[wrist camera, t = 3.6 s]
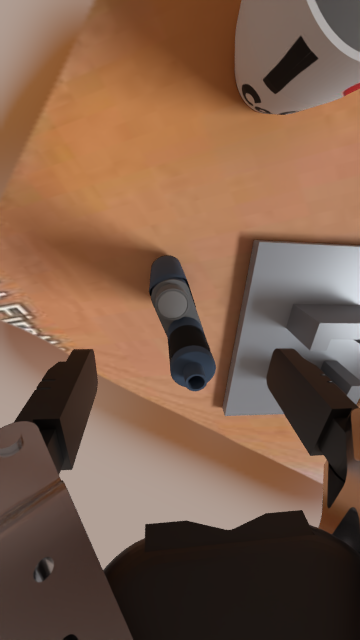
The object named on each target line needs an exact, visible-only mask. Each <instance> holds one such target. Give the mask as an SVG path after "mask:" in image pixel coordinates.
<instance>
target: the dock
mask: <svg viewBox="0 0 360 640" xmlns="http://www.w3.org/2000/svg"><path fill="white" fill-rule="evenodd" d="M276 348H293V349H295V350H296V351H297V352H298V353H299V354H300V355H301V356H302V357H303V358H304V359H306V360H307V361H309V362H311V363H312V364H314V365H316V366H317V367H318V368H319V369H320V370H321V371H322V372H323V373H324V374H325V376H327V377H328V378H329V379H330V380H331V381H332V383H334V384H335V385H336V386H337V387H338V388H339V389H340V390H341V391H342V392H343V393H345V394H346V395H347V396H348V397H349V398H350V399H351V400H352V401H353V402H354V403H355V404H357V402H358V400H359V399H360V245H344V244H324V243H304V242H285V241H265V240H254V243H253V248H252V253H251V259H250V264H249V269H248V275H247V280H246V285H245V291H244V296H243V301H242V306H241V312H240V317H239V322H238V328H237V333H236V338H235V344H234V349H233V354H232V360H231V365H230V370H229V375H228V381H227V386H226V391H225V397H224V402H223V407H222V409H223V412H224V415H225V416H236V415H267V414H284V413H283V411H282V410H281V408H280V406H279V405H278V403H277V402H276V400H275V398H274V397H273V395H272V394H271V392H270V390H269V389H268V386H267V381H266V377H267V372H268V369H269V365H270V361H271V357H272V354H273V351H274V350H275V349H276Z"/></svg>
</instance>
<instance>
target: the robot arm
mask: <svg viewBox="0 0 360 640" xmlns="http://www.w3.org/2000/svg"><path fill="white" fill-rule="evenodd" d="M97 380H98V379H97V371H96V363H95V355H94V351H93V349H74V350H73V351H72V352H71V354H70V356H69V357H68V359H67V361H66V362H58V363H57V364H55V365H54V366H53V367H52V368H50V369H49V370H48V371H47V373H46V374H45V376H44V377H43V379H42V381H41V382H40V383H39V385H38V386H37V389H36V390H35V391H34V393H33V394H32V396H31V397H30V399H29V400H28V402H27V403H26V405H25V406H24V408H23V409H22V411H21V412H20V414H19V415H18V417H17V418H16V420H15V422H14V423H12V424H9V425H6V426H4V427H2V428H0V640H360V408H359V407H358V406H357V405H356V404H355V403H354V402H353V401H352V400H351V399H350V398H349V397H348V396H347V395H346V394H345V393H343V392H342V391H341V390H340V389H339V388H338V387H337V386H336V385H335V384H334V383H332V381H331V380H330V379H329V378H328V377H327V376H325V374H324V373H323V372H322V371H321V370H320V369H319V368H318V367H317V366H316V365H314V364H312V363H311V362H309V361H307V360H306V359H304V358H303V357H302V356H301V355H300V354H299V353H298V352H297V351H296V350H295V349H293V348H276V349H275V350H274V351H273V354H272V357H271V361H270V365H269V369H268V372H267V377H266V381H267V386H268V389H269V390H270V392H271V394H272V395H273V397H274V398H275V400H276V402H277V403H278V405H279V406H280V408H281V410H282V411H283V413H284V414H285V416H286V418H287V419H288V421H289V422H290V424H291V426H292V427H293V429H294V430H295V432H296V434H297V435H298V437H299V438H300V440H301V442H302V443H303V445H304V446H305V448H306V450H307V451H308V453H309V454H310V456H314V455H324V456H325V457H326V459H327V460H326V462H325V464H324V478H323V500H322V516H321V521H320V524H319V527H318V528H317V527H313V526H311V525H309V524H308V522H307V519H306V518H305V515H304V513H303V511H302V510H300V511H288V512H277V513H266V514H264V515H262V516H260V517H258V518H256V519H254V520H252V521H249V522H247V523H245V524H243V525H241V526H239V527H237V528H235V529H232V530H224V529H220V528H216V527H211V526H207V525H203V524H198V523H194V522H189V521H177V522H167V523H156V524H146V525H145V527H146V528H145V538H144V539H142V540H140V541H138V542H136V543H134V544H133V545H131V546H129V547H128V548H126V549H125V550H124V551H123V552H121V553H120V554H119V555H118V556H116V557H115V558H114V559H113V560H112V561H111V562H110V563H109V564H108V565H107V566H106V568H105V569H104V570H103V569H102V567H101V565H100V562H99V560H98V558H97V556H96V554H95V551H94V549H93V547H92V544H91V542H90V540H89V537H88V535H87V533H86V531H85V529H84V526H83V524H82V522H81V519H80V517H79V515H78V512H77V510H76V508H75V506H74V503H73V501H72V499H71V496H70V494H69V492H68V490H67V488H66V486H65V483H64V482H63V481H61V479H60V477H59V473H60V471H61V470H72V468H73V465H74V462H75V459H76V455H77V452H78V449H79V446H80V443H81V440H82V436H83V433H84V430H85V427H86V424H87V421H88V417H89V414H90V411H91V408H92V405H93V402H94V399H95V396H96V392H97V384H98V381H97Z"/></svg>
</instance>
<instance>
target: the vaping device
mask: <svg viewBox="0 0 360 640" xmlns="http://www.w3.org/2000/svg"><path fill="white" fill-rule="evenodd" d="M149 293H150V296H151V300H152V303H153V306H154V308H155V310H156V312H157V315H158V317H159V319H160V321H161V324H162V326H163V328H164V330H165V333H166V335H167V337H168V347H169V359H170V371H171V376H172V378H173V380H174V381H175V382H176V383H177V384H179V385H181V386H184V387H187V389H189V390H191V391H199V390H201V389H203V388H204V387H205V386H206V384H207V382H208V381H210V380H211V378H212V377H213V376H214V373H215V370H216V365H215V361H214V359H213V356H212V353H210V348H209V345H208V343H207V342H206V341H207V340H206V337H205V334H204V331H203V328H202V325H201V322H200V319H199V316H198V314H197V311H196V308H195V307H196V306H195V303H194V300H193V297H192V294H191V291H190V288H189V284H188V281H187V279H186V277H185V274H184V272H183V269H182V267H181V264H180V262H179V261H178V259H176V258H175V257H173V256H162V257H160V258H158V259H157V260H155V261H154V263H153V265H152V267H151V276H150V287H149ZM171 358H172V359H171Z"/></svg>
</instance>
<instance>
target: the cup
mask: <svg viewBox="0 0 360 640" xmlns="http://www.w3.org/2000/svg"><path fill="white" fill-rule="evenodd" d="M235 78H236V84H237V87H238V90H239V93H240V95H241V97H242V98H243V100H244V101H245V103H246V104H247V105H248V106H249V107H250V108H252V109H253V110H255V111H257V112H260V113H265V114H279V115H286V114H292V113H295V112H299V111H302V110H305V109H308V108H312V107H315V106H318V105H322V104H325V103H328V102H331V101H334V100H337V99H339V98H341V97H343V96H345V95H347V94H349V93H351V92H353V91H355V90H358V89H360V0H241V5H240V10H239V15H238V20H237V25H236V33H235Z"/></svg>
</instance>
